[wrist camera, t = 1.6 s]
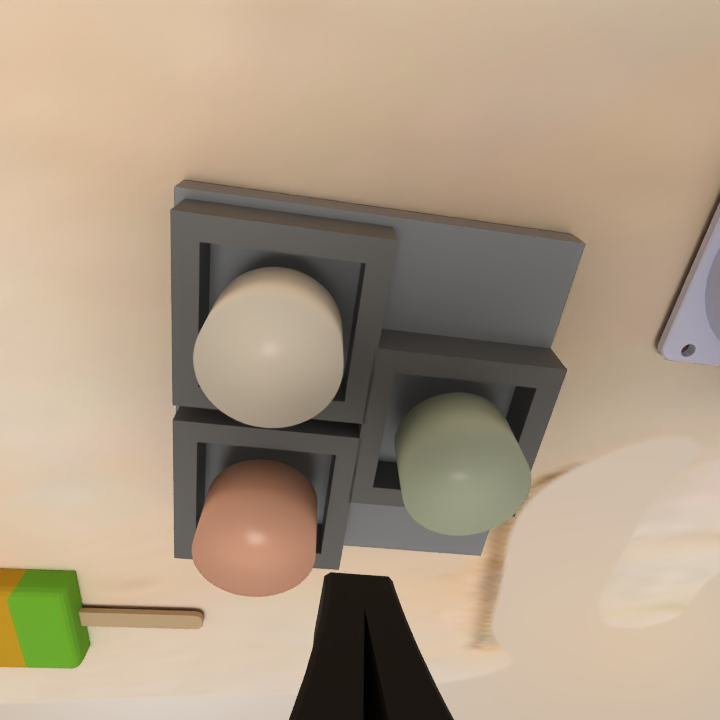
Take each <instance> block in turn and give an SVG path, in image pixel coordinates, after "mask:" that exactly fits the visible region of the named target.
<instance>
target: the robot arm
mask: <svg viewBox="0 0 720 720" xmlns="http://www.w3.org/2000/svg"><path fill="white" fill-rule="evenodd" d="M688 344H689V347H688V349H687V350H685V351H684V352H681V351H682V349H683V347H684V346H686V345H688ZM657 349H658V352H659V353H660V355H661V356H663V357H664V358H665V359H667V360H671V361H679V362H688V363H696V364H705V365H713V366H720V203H719V205H718V207H717V210H716V212H715V214H714V216H713V219H712V221H711V223H710V226H709V228H708V230H707V233H706V235H705V237H704V239H703V242H702V244H701V246H700V249H699V251H698V253H697V256H696V258H695V260H694V263H693V265H692V267H691V269H690V272H689V274H688V276H687V279H686V281H685V283H684V286H683V288H682V290H681V292H680V295H679V297H678V299H677V302H676V304H675V306H674V309H673V311H672V313H671V316H670V318H669V320H668V322H667V325H666V327H665V329H664V332H663V334H662V336H661V339H660V341H659V343H658V347H657ZM289 720H454V719H453V717H452V715H451V713H450V712H449V710H448V708H447V706H446V704H445V702H444V700H443V698H442V696H441V694H440V692H439V690H438V688H437V687H436V684H435V682H434V680H433V678H432V676H431V674H430V672H429V670H428V667H427V665H426V663H425V661H424V659H423V657H422V655H421V653H420V650H419V648H418V646H417V644H416V641H415V639H414V637H413V634H412V632H411V630H410V627H409V625H408V622H407V620H406V617H405V615H404V612H403V610H402V607H401V604H400V602H399V599H398V596H397V593H396V590H395V588H394V584H393V581H392V580H391V579H390V578H389V577H386V576H373V575H359V574H345V573H332V572H331V573H329V574H327V575H325V576H324V582H323V588H322V593H321V599H320V604H319V610H318V615H317V621H316V627H315V632H314V644H313V649H312V652H311V656H310V659H309V663H308V666H307V669H306V673H305V676H304V679H303V682H302V684H301V687H300V690H299V693H298V696H297V699H296V701H295V705H294V707H293V710H292V713H291V716H290V718H289Z"/></svg>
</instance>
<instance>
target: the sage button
mask: <svg viewBox="0 0 720 720" xmlns="http://www.w3.org/2000/svg"><path fill="white" fill-rule="evenodd" d="M394 445H395V454H396V461H397V467H398V473H399V480H400V486H401V492H402V498H403V502H404V505H405V508H406V509H407V511H408V513H409V514H410V515H411V517H412V518H413V519H414V520H415V521H416V522H417V523H419V524H420V525H422V526H423V527H425V528H427V529H429V530H431V531H434V532H437V533H440V534H445V535H453V536H463V535H472V534H477V533H481V532H485V531H487V530H490V529H492V528H495V527H497V526H499V525H500V524H502V523H504V522H505V521H507V520H508V519H509V518H510V517H512V516H513V515H514V514H515V513H516V512H517V511H518V510H519V508H520V507H521V506H522V504H523V503H524V501H525V500H526V497H527V495H528V493H529V489H530V485H531V473H530V468H529V465H528V463H527V461H526V459H525V457H524V455H523V453H522V451H521V448H520V446H519V444H518V442H517V440H516V438H515V436H514V434H513V432H512V430H511V428H510V426H509V424H508V422H507V420H506V418H505V416H504V415H503V413H502V412H501V410H500V409H499V408H498V407H497V406H496V405H495V404H493V403H492V402H491V401H489V400H487V399H486V398H483V397H481V396H478V395H475V394H471V393H465V392H452V393H445V394H440V395H437V396H433V397H431V398H429V399H426V400H425V401H423V402H421V403H419V404H418V405H417V406H415V407H414V408H413V409H412V410H410V411H409V412H408V413H407V415H406V416H405V417H404V418H403V420H402V421H401V423H400V425H399V427H398V429H397V432H396V435H395V442H394Z"/></svg>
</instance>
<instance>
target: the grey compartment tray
mask: <svg viewBox="0 0 720 720" xmlns="http://www.w3.org/2000/svg"><path fill="white" fill-rule="evenodd" d="M170 213H171V302H172V390H173V405H176V415H175V417H174V419H173V479H174V558H182V559H193V557H192V543H193V539H194V536H195V533H196V529H197V526H198V523H199V520H200V516H201V513H202V510H203V506H204V503H205V500H206V497H207V493H208V490H209V487H210V485H211V483H212V482H213V480H214V479H215V477H216V476H217V475H218V474H219V473H221V472H222V471H223V470H224V469H226V468H228V467H229V466H231V465H234V464H236V463H239V462H243V461H247V460H256V459H264V460H273V461H277V462H281V463H284V464H287V465H289V466H291V467H293V468H295V469H296V470H298V471H299V472H301V473H302V474H303V475H304V476H305V477H306V478H307V479H308V480H309V481H310V482H311V484H312V485H313V487H314V489H315V491H316V495H317V500H318V509H317V533H316V556H315V562H314V566H313V568H321V569H335V570H339V566H340V560H341V555H342V549H343V545H347V546H360V547H373V548H386V549H399V550H412V551H425V552H438V553H451V554H464V555H477V556H481V553H482V550H483V547H484V544H485V541H486V538H487V535H488V532H489V530H487V531H485V532H481V533H477V534H472V535H463V536H453V535H445V534H440V533H437V532H434V531H431V530H429V529H427V528H425V527H423V526H422V525H420V524H419V523H417V522H416V521H415V520H414V519H413V518H412V517H411V515H410V514H409V513H408V511H407V509H406V508H405V505H404V502H403V498H402V492H401V486H400V480H399V473H398V467H397V461H396V454H395V445H394V442H395V435H396V432H397V429H398V427H399V425H400V423H401V421H402V420H403V418H404V417H405V416H406V415H407V413H408V412H409V411H410V410H412V409H413V408H414V407H415V406H417V405H418V404H419V403H421V402H423V401H425V400H426V399H429V398H431V397H433V396H437V395H440V394H445V393H452V392H465V393H471V394H475V395H478V396H481V397H483V398H486V399H487V400H489V401H491V402H492V403H493V404H495V405H496V406H497V407H498V408H499V409H500V410H501V412H502V413H503V415H504V416H505V418H506V420H507V422H508V424H509V426H510V428H511V430H512V432H513V434H514V436H515V438H516V440H517V442H518V444H519V446H520V448H521V451H522V453H523V455H524V457H525V459H526V461H527V463H528V465H529V468H530V472H531V469H532V466H533V464H534V461H535V458H536V455H537V453H538V450H539V447H540V444H541V441H542V439H543V436H544V433H545V430H546V428H547V425H548V422H549V419H550V416H551V414H552V411H553V408H554V405H555V402H556V400H557V397H558V394H559V391H560V389H561V386H562V383H563V380H564V377H565V375H566V372H567V369H566V368H565V366H564V365H563V364H562V363H561V361H560V360H559V359H558V357H557V356H556V355H555V354H554V352H553V351H552V350H551V349H550V348H551V345H552V342H553V339H554V336H555V333H556V330H557V327H558V324H559V321H560V318H561V315H562V312H563V309H564V306H565V303H566V300H567V298H568V295H569V292H570V289H571V286H572V283H573V280H574V277H575V274H576V271H577V268H578V265H579V262H580V259H581V256H582V253H583V250H584V247H585V243H584V242H582V241H581V240H579V239H578V238H576V237H575V236H574V235H572V234H567V233H560V232H553V231H545V230H538V229H531V228H524V227H517V226H510V225H503V224H495V223H488V222H481V221H474V220H467V219H460V218H453V217H445V216H438V215H431V214H424V213H417V212H410V211H402V210H395V209H388V208H381V207H374V206H367V205H360V204H352V203H345V202H338V201H331V200H324V199H317V198H310V197H302V196H295V195H288V194H281V193H274V192H267V191H260V190H252V189H245V188H238V187H231V186H224V185H217V184H209V183H202V182H195V181H188V180H183V181H182V182H180V183H179V184H178V185H176V186H175V187H174V207H173V208H172V209H171V210H170ZM263 267H284V268H289V269H293V270H297V271H300V272H302V273H304V274H306V275H308V276H310V277H312V278H313V279H315V280H316V281H318V282H319V283H320V284H321V285H322V286H323V287H324V288H325V289H326V290H327V291H328V292H329V293H330V295H331V296H332V297H333V299H334V301H335V302H336V304H337V306H338V309H339V312H340V315H341V319H342V329H343V364H344V366H343V376H342V381H341V384H340V387H339V389H338V391H337V393H336V395H335V397H334V398H333V399H332V401H331V402H330V403H329V405H328V406H327V407H326V408H325V409H324V410H322V411H321V412H320V413H319V414H317V415H316V416H314V417H312V418H311V419H309V420H307V421H305V422H302V423H300V424H296V425H293V426H289V427H283V428H263V427H256V426H252V425H248V424H245V423H242V422H239V421H237V420H235V419H233V418H231V417H229V416H228V415H226V414H225V413H223V412H222V411H220V410H219V409H218V408H217V407H216V406H214V405H213V403H212V402H211V401H210V400H209V399H208V398H207V397H206V395H205V394H204V392H203V391H202V389H201V387H200V385H199V383H198V381H197V378H196V375H195V370H194V364H193V354H194V347H195V343H196V339H197V337H198V335H199V332H200V330H201V329H202V327H203V325H204V323H205V321H206V319H207V317H208V315H209V313H210V311H211V310H212V308H213V306H214V304H215V302H216V300H217V298H218V297H219V295H220V293H221V292H222V291H223V289H224V288H225V287H226V286H227V285H228V284H229V283H230V282H231V281H232V280H234V279H235V278H237V277H238V276H240V275H242V274H244V273H246V272H248V271H251V270H254V269H258V268H263ZM515 514H516V513H515ZM515 514H514V515H513V516H515Z"/></svg>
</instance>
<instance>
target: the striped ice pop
mask: <svg viewBox="0 0 720 720" xmlns="http://www.w3.org/2000/svg"><path fill="white" fill-rule="evenodd" d="M7 603H8V604H7ZM203 620H204V617H203V614H202V613H200V612H198V611H173V610H140V609H107V608H83V606H82V601H81V596H80V591H79V586H78V581H77V576H76V571H62V570H32V569H3V568H0V667H30V668H76V667H78V666H79V665H80V664H81V663H82V661H83V659H84V657H85V655H86V653H87V651H88V648H89V646H90V641H89V636H88V631H87V626H100V627H136V628H172V629H199V628H201V627H202V625H203ZM17 637H18V638H17Z"/></svg>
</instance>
